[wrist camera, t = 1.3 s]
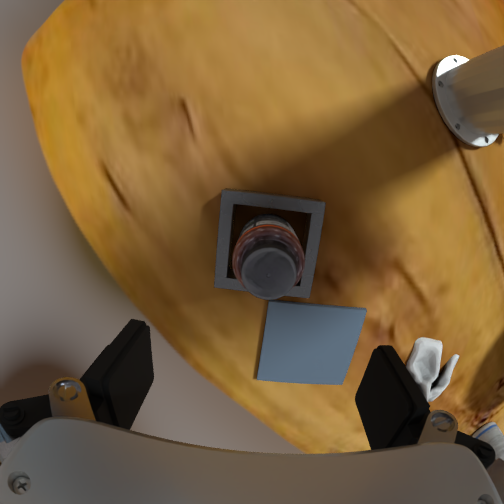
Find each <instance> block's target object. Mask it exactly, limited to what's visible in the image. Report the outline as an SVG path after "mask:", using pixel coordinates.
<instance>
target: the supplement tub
mask: <svg viewBox="0 0 504 504" xmlns="http://www.w3.org/2000/svg"><path fill="white" fill-rule="evenodd" d="M472 437H474V438H477V439H479V440H482V441H484V442H487V443H488V444H490V445H491V446H492V447H493V449H494V450H495V454H496V457H495V459H496V460H497V459H498V458H501V459H502V460H504V435H503V433H502V432H501V430H500V429H499V427H498V426H497V425H496V423H495V422H489V423H487V424H485V425H484V426H483V427H481V428H480V429H479V430H477V431H476V432H475V433H474V434H473V435H472Z"/></svg>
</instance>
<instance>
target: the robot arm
mask: <svg viewBox="0 0 504 504" xmlns="http://www.w3.org/2000/svg"><path fill="white" fill-rule="evenodd" d="M432 88H433V95H434V98H435V102H436V105H437V108H438V110H439V113H440V114H441V116H442V118H443V120H444V122H445V123H446V125H447V126H448V128H449V129H450V130H451V131H452V132H453V134H454V135H455V136H456V137H458V138H459V139H460V140H461V141H462V142H464V143H466V144H468V145H470V146H474V147H485V146H488V145H490V144H492V143H493V142H494V141H495V140H496V138H497V137H498V135H499V134H501V133H504V45H503V46H501V47H498V48H496V49H493V50H491V51H489V52H486V53H484V54H482V55H479V56H477V57H475V58H472V59H470V60H469V59H467V58H464V57H462V56H457V55H454V56H448V57H446V58H444V59H442V60H441V61H440V62H439V63H438V64H437V65H436V67H435V69H434V72H433V77H432ZM153 379H154V373H153V363H152V352H151V339H150V327H149V326H147V325H146V323H145V322H144V321H139V320H135V319H131V320H130V321H129V322H128V324H127V325H126V326H125V327H124V328H123V330H122V331H121V332H120V333H119V334H118V336H117V337H116V338H115V339H114V340H113V342H112V343H111V344H110V345H108V346H107V347H106V348H105V349H104V350H103V351H102V352H101V354H100V355H99V356H98V357H97V359H96V360H95V361H94V363H92V365H91V366H90V367H89V369H88V370H87V371H86V372H85V374H84V375H83V376H82V377H81V378H80V380H78V379H76V378H72V377H63V378H60V379H57V380H56V381H54V382H53V383H52V384H51V385H50V387H49V394H48V395H43V396H38V397H33V398H27V399H22V400H16V401H10V402H7V403H5V404H3V405H2V406H1V408H0V504H504V460H502V459H501V458H498V459H497V460H496V459H495V457H496V454H495V450H494V449H493V447H492V446H491V445H490V444H488V443H487V442H484V441H482V440H479V439H477V438H474V437H472V436H469V435H467V434H464V433H462V432H460V431H457V429H458V422H457V420H456V418H455V417H454V416H453V415H452V414H451V413H449V412H447V411H444V410H435V411H432V412H430V410H429V407H430V405H429V403H428V402H427V400H426V398H425V397H424V395H423V393H422V392H421V390H420V389H419V387H418V385H417V384H416V382H415V381H414V379H413V377H412V376H411V374H410V373H409V371H408V369H407V368H406V366H405V365H404V363H403V362H402V360H401V359H400V357H399V356H398V354H397V353H396V351H395V350H394V348H393V347H392V346H390V345H380V346H378V347H377V349H374V350H373V352H372V355H371V358H370V360H369V363H368V366H367V368H366V371H365V373H364V376H363V378H362V381H361V383H360V386H359V388H358V391H357V393H356V396H355V402H356V405H357V408H358V411H359V414H360V417H361V420H362V423H363V426H364V429H365V432H366V435H367V438H368V441H369V444H370V447H371V450H367V451H357V452H345V453H326V454H278V453H259V452H247V451H236V450H228V449H220V448H212V447H205V446H200V445H194V444H188V443H183V442H178V441H173V440H168V439H164V438H159V437H155V436H151V435H147V434H143V433H139V432H135V431H132V430H130V428H131V426H132V424H133V422H134V420H135V418H136V416H137V414H138V411H139V410H140V407H141V405H142V403H143V401H144V399H145V397H146V395H147V393H148V391H149V389H150V387H151V385H152V383H153Z"/></svg>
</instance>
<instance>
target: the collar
mask: <svg viewBox="0 0 504 504" xmlns="http://www.w3.org/2000/svg"><path fill="white" fill-rule="evenodd" d="M236 204H240V205H249V206H258V207H267V208H275V209H283V210H291V211H299V212H306V213H307V217H306V224H305V231H304V238H303V244H302V249H303V252H304V256H305V267H304V271H303V274H302V276H301V278H300V280H299V282H298V283H297V284H296V285H295V286H294V287H293V288H292V289H291V290H290V291H289V292H288V293H287V294H285V295H284V296H292V297H302V298H309V297H310V292H311V287H312V282H313V277H314V271H315V266H316V260H317V254H318V249H319V243H320V237H321V230H322V224H323V217H324V211H325V204H326V203H325V202H323V201H321V200H318V199H311V198H304V197H297V196H289V195H281V194H273V193H265V192H256V191H247V190H237V189H227V188H226V189H224V190H222V195H221V205H220V217H219V229H218V241H217V254H216V268H215V282H214V287H216V288H224V289H232V290H240V291H248V290H247V289H245V288H244V287H243V286H242V285H241V284H240V283H239V281H238V280H237V278H236V276H235V274H234V271H233V269H230V263H231V252H232V241H233V231H234V220H235V210H236ZM248 292H249V291H248Z"/></svg>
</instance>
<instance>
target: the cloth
mask: <svg viewBox="0 0 504 504" xmlns="http://www.w3.org/2000/svg"><path fill="white" fill-rule="evenodd" d="M441 354H442V343H441V341H438V340H434V339H430V338H423V337H421V338H418V339H417V340H416V341H415V344H414V348H413V351H412V353H411V356H410V358H409V360H408V362H407V365H406V368H407V369H408V371H409V373H410V374H411V376H412V377H413V379H414V381H415V382H416V384H417V385H418V387H419V389H420V390H421V392H422V393H423V395H424V397H425V398H426V400H427V402H428V401H429V402H430V401H433V400H434V399H435V398H437V397H438V396H439V395H440V394H441V393H442V392H443V390H444V389H445V388H446V387H447V385H448V384H449V382H450V378H451V374H452V371H453V368H454V366H455V364H456V362H457V360H458V358H459V355H457V354H455V355H454V356H452V357H451V358H450V360H449V361H448V362H447V363H446V365H445V368H444V370H443V372H442V373H441V375H440V376H439V377H438V374H439V370H440V360H441ZM437 377H438V378H437ZM434 380H435V381H434ZM433 381H434V382H433Z"/></svg>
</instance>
